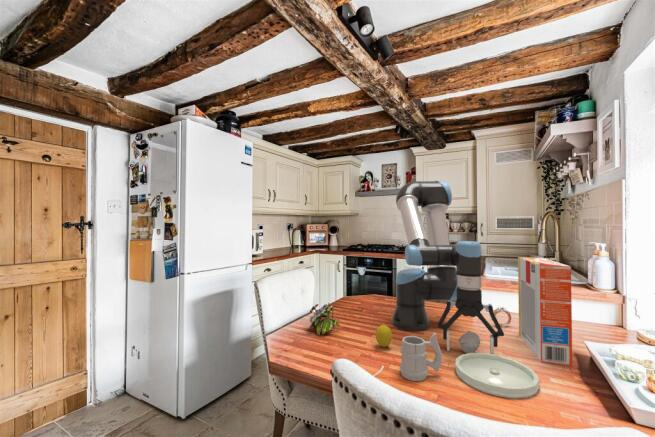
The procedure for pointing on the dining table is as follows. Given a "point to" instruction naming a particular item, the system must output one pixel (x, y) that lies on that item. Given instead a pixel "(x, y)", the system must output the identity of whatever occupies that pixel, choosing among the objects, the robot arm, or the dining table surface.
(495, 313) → the ring
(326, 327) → the leafy green plant
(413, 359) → the mug
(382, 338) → the lemon
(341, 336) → the dining table surface
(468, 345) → the grey round lump
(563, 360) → the cereal box
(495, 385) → the groove dish
